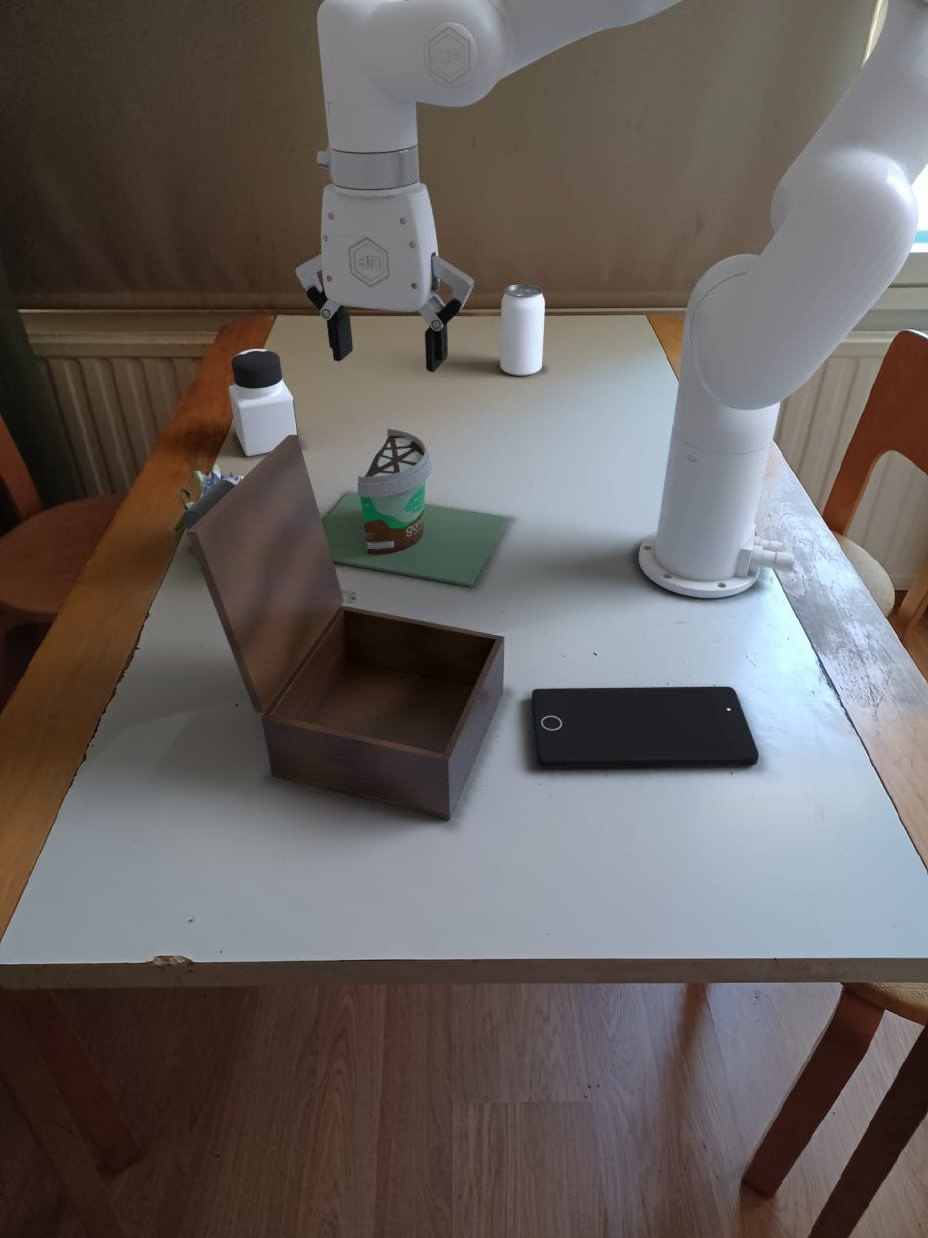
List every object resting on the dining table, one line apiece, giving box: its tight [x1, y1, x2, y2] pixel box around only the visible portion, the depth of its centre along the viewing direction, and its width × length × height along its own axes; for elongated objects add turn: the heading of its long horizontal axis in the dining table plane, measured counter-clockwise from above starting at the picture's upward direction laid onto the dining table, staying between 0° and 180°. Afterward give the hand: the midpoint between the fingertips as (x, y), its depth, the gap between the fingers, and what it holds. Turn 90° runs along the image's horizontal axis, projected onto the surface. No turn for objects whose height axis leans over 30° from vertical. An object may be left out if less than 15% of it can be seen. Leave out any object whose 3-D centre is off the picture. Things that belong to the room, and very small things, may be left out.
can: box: [499, 283, 546, 377], centre depth 137 cm, size 6×6×12 cm
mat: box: [322, 491, 508, 588], centre depth 102 cm, size 20×14×1 cm
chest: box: [260, 604, 506, 821], centre depth 75 cm, size 15×15×7 cm
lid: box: [181, 434, 345, 715], centre depth 71 cm, size 16×15×5 cm
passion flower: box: [174, 464, 245, 532], centre depth 98 cm, size 11×11×12 cm
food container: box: [357, 428, 433, 555], centre depth 99 cm, size 12×6×10 cm, turn 168°
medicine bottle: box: [228, 348, 300, 457], centre depth 118 cm, size 7×7×12 cm
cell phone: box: [531, 686, 760, 769], centre depth 77 cm, size 9×18×1 cm, turn 91°
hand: (388, 361), depth 88 cm, fingers open, 9 cm apart
